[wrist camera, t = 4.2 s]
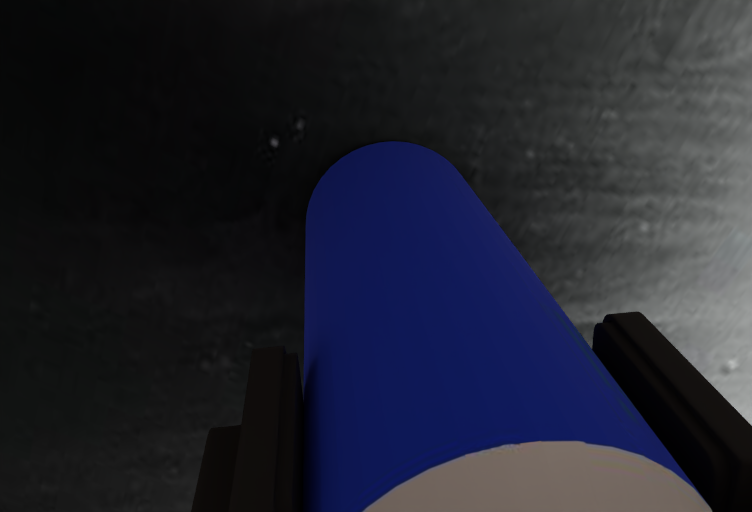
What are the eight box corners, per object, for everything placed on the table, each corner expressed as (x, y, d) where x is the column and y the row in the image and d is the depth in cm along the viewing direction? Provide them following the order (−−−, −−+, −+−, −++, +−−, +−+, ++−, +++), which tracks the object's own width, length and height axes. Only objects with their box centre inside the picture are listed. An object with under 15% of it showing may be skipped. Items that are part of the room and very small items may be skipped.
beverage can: (420, 315, 22) (600, 869, 8) (278, 254, 21) (219, 795, 7) (500, 181, 21) (881, 598, 7) (352, 106, 19) (458, 436, 6)
